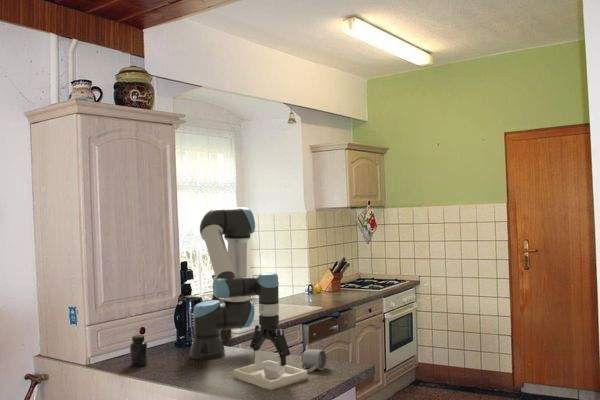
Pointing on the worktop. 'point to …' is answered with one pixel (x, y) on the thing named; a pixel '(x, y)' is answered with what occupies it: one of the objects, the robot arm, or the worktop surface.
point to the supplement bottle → (138, 351)
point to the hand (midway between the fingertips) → (269, 370)
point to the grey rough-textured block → (271, 370)
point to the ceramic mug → (314, 360)
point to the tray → (259, 378)
